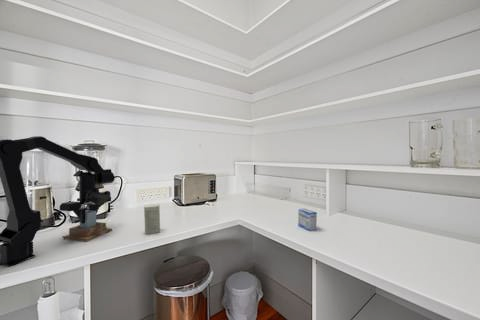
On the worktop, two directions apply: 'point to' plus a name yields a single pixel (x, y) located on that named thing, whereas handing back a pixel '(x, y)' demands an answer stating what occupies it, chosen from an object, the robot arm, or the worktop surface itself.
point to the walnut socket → (87, 232)
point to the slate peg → (89, 219)
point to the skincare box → (152, 218)
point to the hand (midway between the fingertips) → (88, 221)
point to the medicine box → (307, 219)
